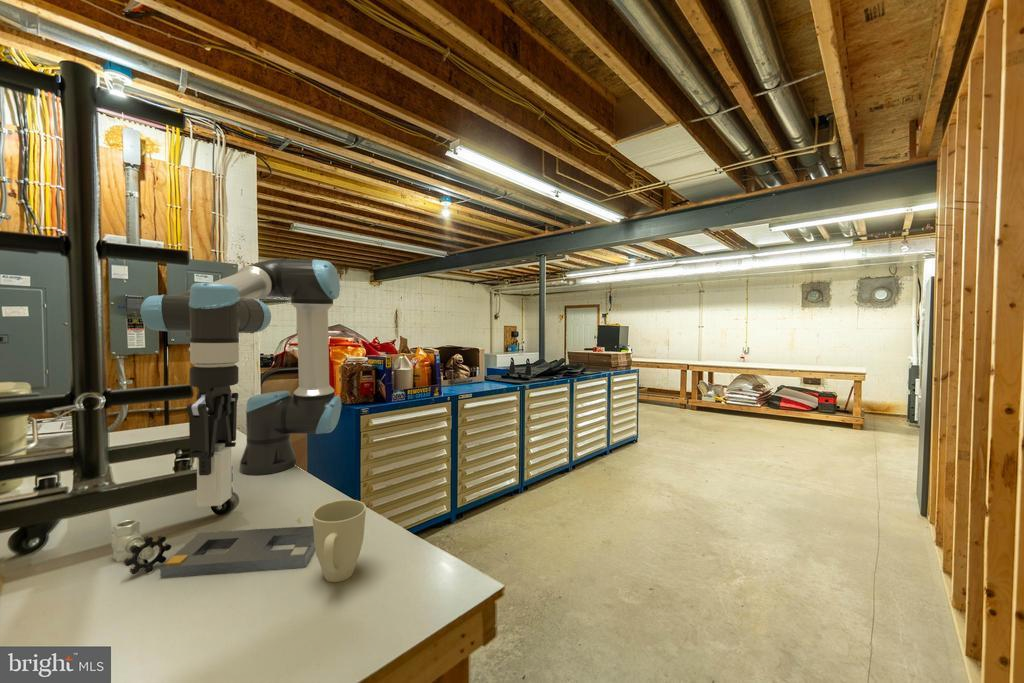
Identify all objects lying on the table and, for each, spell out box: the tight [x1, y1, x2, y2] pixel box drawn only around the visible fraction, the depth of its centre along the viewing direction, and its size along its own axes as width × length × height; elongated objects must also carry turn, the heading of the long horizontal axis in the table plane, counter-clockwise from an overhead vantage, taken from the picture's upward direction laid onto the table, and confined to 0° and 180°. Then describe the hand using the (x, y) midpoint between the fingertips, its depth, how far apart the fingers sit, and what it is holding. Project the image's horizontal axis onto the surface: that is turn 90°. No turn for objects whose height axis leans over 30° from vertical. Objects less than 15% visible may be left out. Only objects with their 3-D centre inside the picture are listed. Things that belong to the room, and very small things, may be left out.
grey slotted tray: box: [159, 525, 316, 579], centre depth 80 cm, size 12×24×2 cm, turn 100°
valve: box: [111, 518, 172, 575], centre depth 76 cm, size 7×7×12 cm
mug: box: [312, 499, 367, 583], centre depth 73 cm, size 11×10×12 cm
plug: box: [196, 443, 232, 508], centre depth 78 cm, size 4×4×11 cm
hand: (214, 485), depth 78 cm, fingers closed on plug, 4 cm apart
